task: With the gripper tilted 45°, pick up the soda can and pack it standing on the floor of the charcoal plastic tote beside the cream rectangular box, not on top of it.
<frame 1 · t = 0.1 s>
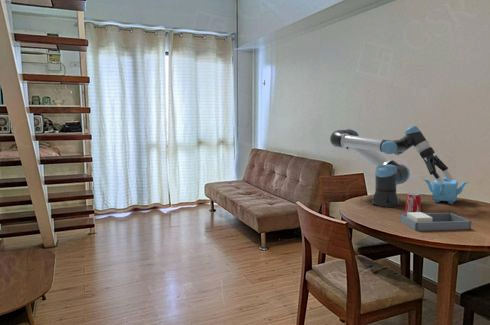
hand: (446, 181, 198), 15 cm above the table, tool tilted 35°, fingers open, 13 cm apart
tote: (433, 226, 167), on the table
cream rectangular box: (419, 225, 166), point 1 cm above the table, touching tote
soda can: (412, 216, 186), on the table
teakettle: (444, 202, 216), on the table
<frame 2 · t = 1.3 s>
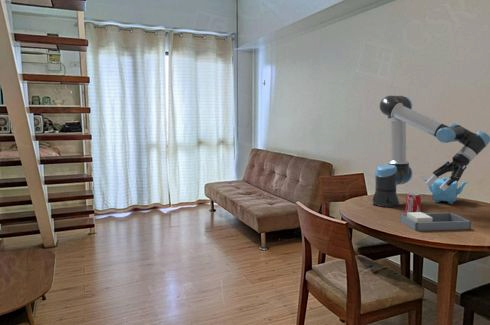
hand: (434, 187, 184), 15 cm above the table, tool tilted 45°, fingers open, 13 cm apart
nothing on the table moved.
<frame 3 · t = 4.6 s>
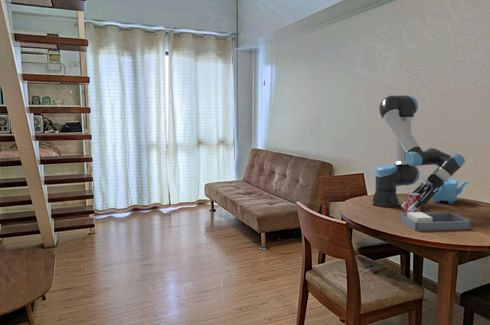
hand: (406, 209, 185), 4 cm above the table, tool tilted 45°, fingers closed on soda can, 7 cm apart
soda can: (412, 216, 186), on the table, touching gripper
everything else where it was.
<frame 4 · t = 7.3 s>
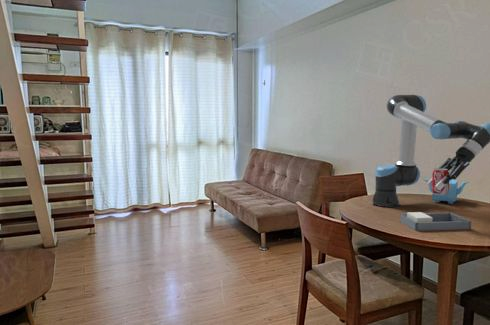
hand: (433, 186, 168), 19 cm above the table, tool tilted 45°, fingers closed on soda can, 7 cm apart
soda can: (440, 194, 168), point 15 cm above the table, touching gripper
everything else where it was.
when the fingers open (6 cm above the table, at t = 10.1 s): soda can drops 2 cm, resting on tote.
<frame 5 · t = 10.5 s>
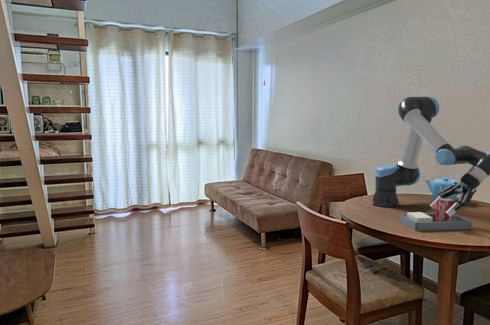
hand: (439, 211, 166), 8 cm above the table, tool tilted 45°, fingers open, 13 cm apart
soda can: (444, 224, 167), point 1 cm above the table, touching tote
everything else where it was.
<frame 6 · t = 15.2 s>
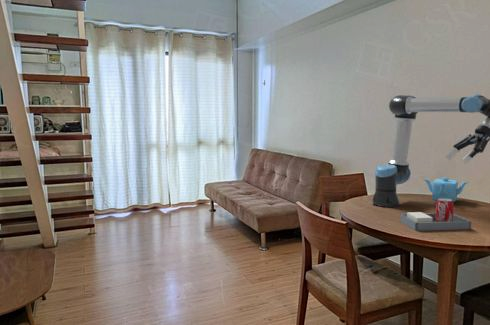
hand: (455, 160, 178), 30 cm above the table, tool tilted 45°, fingers open, 13 cm apart
nothing on the table moved.
at the end: soda can inside the target area on the tote (0.5 cm from its centre), point 0.8 cm above the tote's base; soda can tilted 0°; cream rectangular box moved 0.0 cm from its start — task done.
